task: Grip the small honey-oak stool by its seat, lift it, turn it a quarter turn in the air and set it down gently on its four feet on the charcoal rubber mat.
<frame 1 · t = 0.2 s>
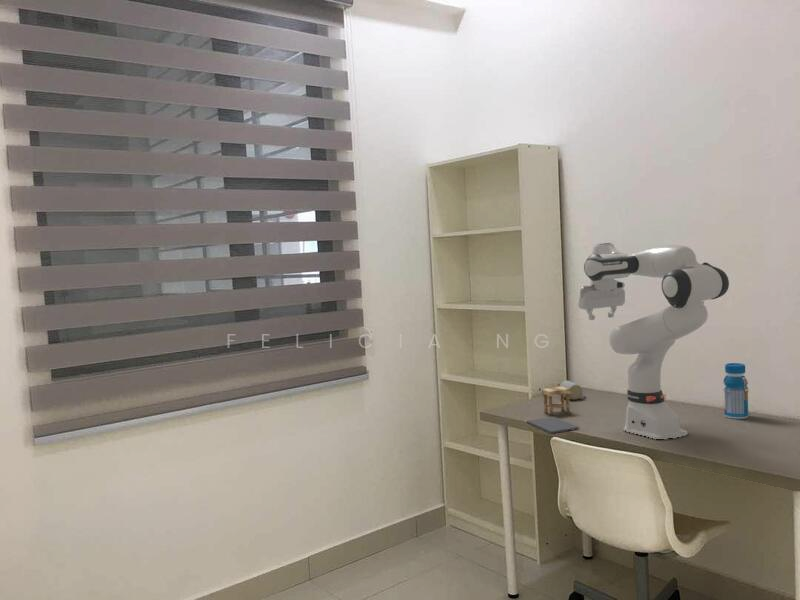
hand: (601, 318, 256), 39 cm above the table, tool pointing down, fingers open, 8 cm apart
oak stool: (557, 412, 265), on the table
charcoal mat: (552, 425, 246), on the table
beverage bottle: (736, 417, 243), on the table
ceramic mug: (573, 398, 290), on the table
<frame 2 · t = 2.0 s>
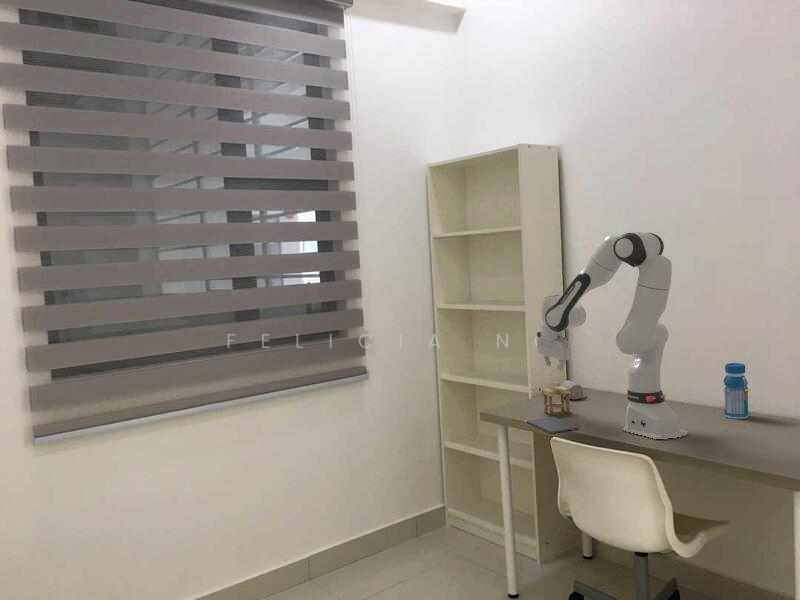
hand: (554, 367, 264), 19 cm above the table, tool pointing down, fingers open, 8 cm apart
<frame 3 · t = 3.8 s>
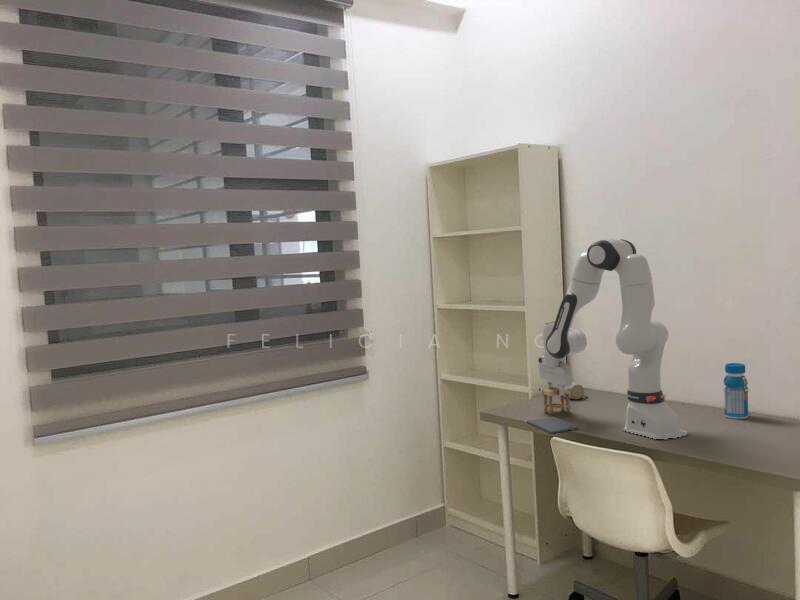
hand: (556, 393, 265), 8 cm above the table, tool pointing down, fingers closed on oak stool, 6 cm apart
oak stool: (557, 412, 265), on the table, touching gripper
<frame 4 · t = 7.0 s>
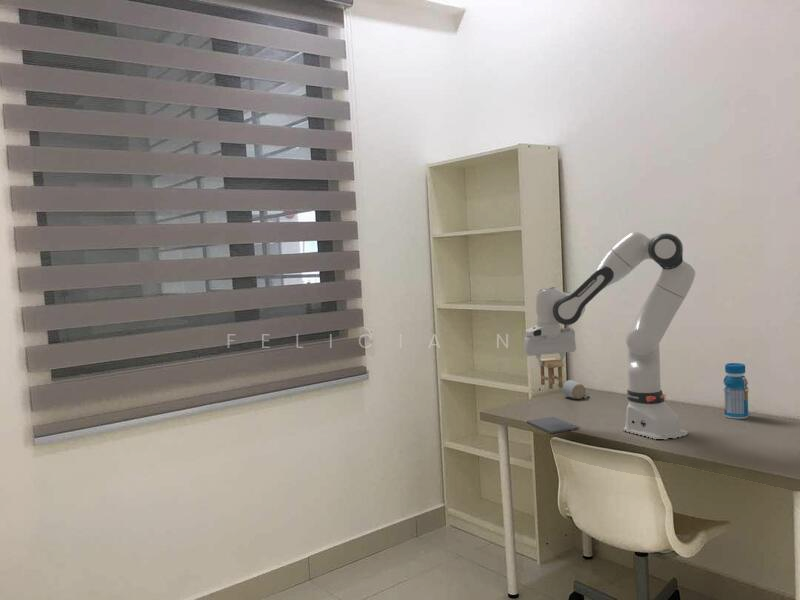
hand: (550, 365, 248), 23 cm above the table, tool pointing down, fingers closed on oak stool, 6 cm apart
oak stool: (551, 385, 249), point 15 cm above the table, touching gripper
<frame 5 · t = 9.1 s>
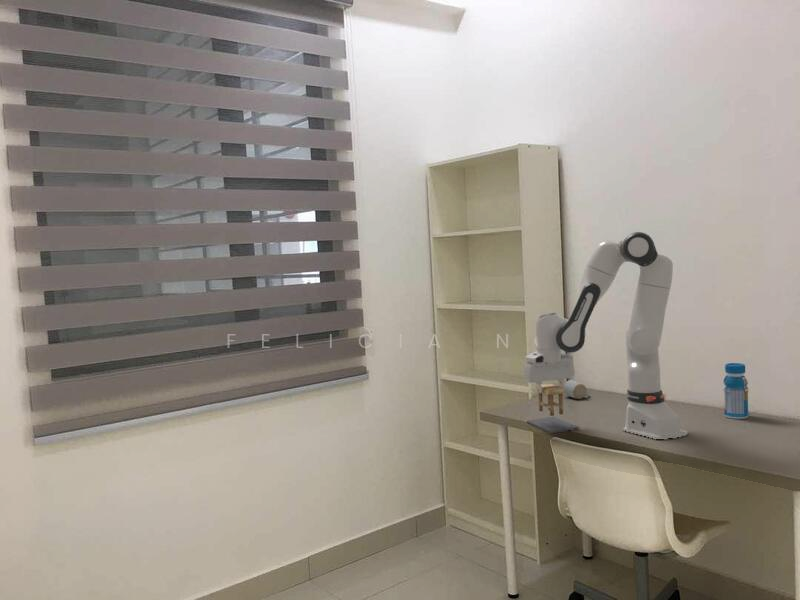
hand: (550, 391, 246), 13 cm above the table, tool pointing down, fingers closed on oak stool, 6 cm apart
oak stool: (551, 412, 246), point 5 cm above the table, touching gripper
when the fingers open (11 cm above the table, at t = 10.6 s): oak stool drops 2 cm, resting on charcoal mat.
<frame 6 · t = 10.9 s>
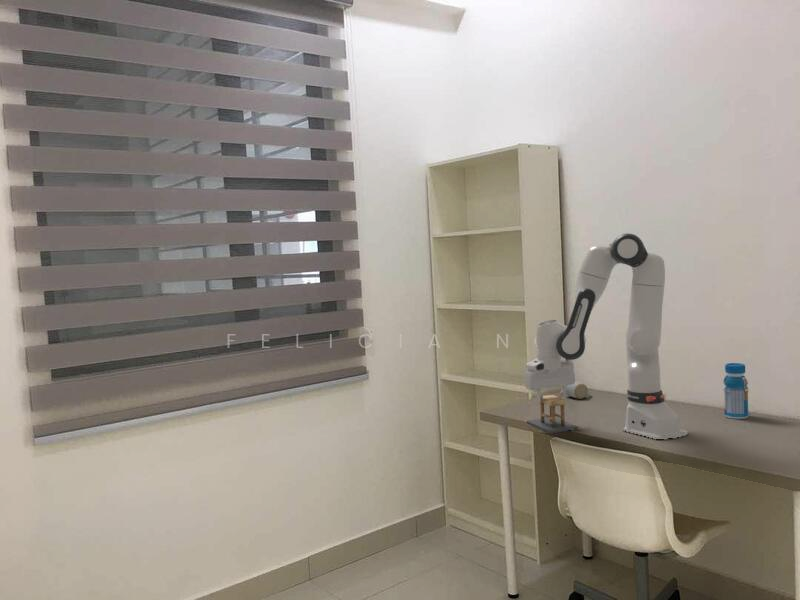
hand: (551, 398, 246), 11 cm above the table, tool pointing down, fingers open, 8 cm apart
oak stool: (552, 423, 246), point 1 cm above the table, touching charcoal mat
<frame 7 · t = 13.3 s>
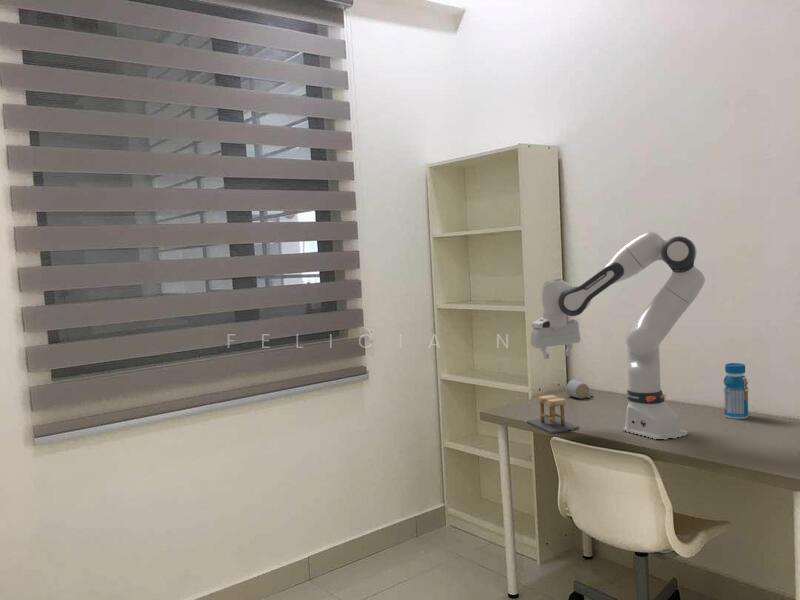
hand: (557, 357, 249), 26 cm above the table, tool pointing down, fingers open, 8 cm apart
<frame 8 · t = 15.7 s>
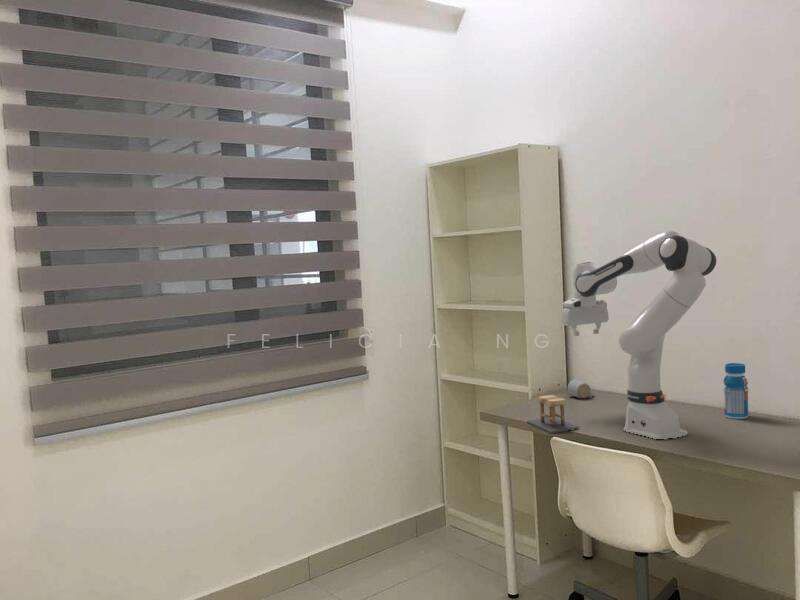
hand: (586, 334, 267), 31 cm above the table, tool pointing down, fingers open, 8 cm apart
at the end: oak stool inside the target area on the charcoal mat (0.2 cm from its centre), point 0.8 cm above the charcoal mat's base; oak stool tilted 0°; the gripper is holding nothing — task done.
